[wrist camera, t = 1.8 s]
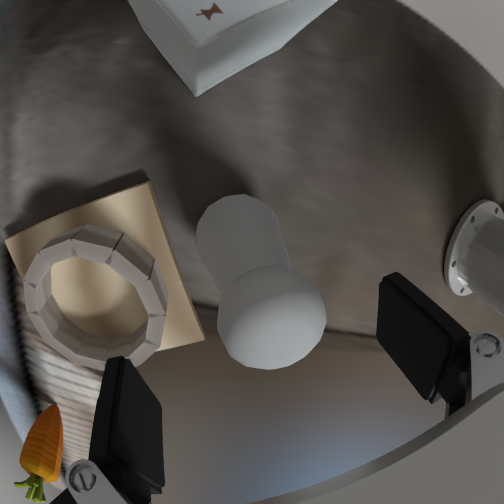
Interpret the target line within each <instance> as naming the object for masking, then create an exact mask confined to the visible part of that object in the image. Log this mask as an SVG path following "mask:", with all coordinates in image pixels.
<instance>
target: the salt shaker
mask: <svg viewBox="0 0 504 504" xmlns="http://www.w3.org/2000/svg"><path fill="white" fill-rule="evenodd" d="M195 244H196V246H197V248H198V251H199V253H200V256H201V258H202V260H203V262H204V263H205V265H206V267H207V269H208V270H209V272H210V274H211V276H212V277H213V279H214V281H215V283H216V285H217V286H218V288H219V290H220V292H221V294H222V298H221V300H220V304H219V311H218V318H217V327H218V332H219V334H220V337H221V339H222V341H223V343H224V345H225V347H226V349H227V351H228V353H229V354H230V356H231V357H232V358H234V359H235V360H237V361H239V362H240V363H242V364H243V365H245V366H247V367H254V368H261V369H276V368H281V367H286V366H289V365H291V364H293V363H295V362H297V361H298V360H300V359H302V358H304V357H305V356H306V355H307V354H308V353H309V352H310V351H311V350H312V349H313V348H314V347H315V345H316V344H317V343H318V342H319V341H320V339H321V337H322V334H323V331H324V328H325V325H326V322H327V320H326V314H325V308H324V303H323V300H322V297H321V295H320V293H319V292H318V290H317V289H316V288H315V287H314V286H313V285H312V284H311V283H310V282H309V281H308V280H307V279H306V278H305V277H304V276H303V275H302V274H301V273H300V272H297V271H294V270H292V268H291V264H290V261H289V257H288V254H287V250H286V247H285V243H284V240H283V236H282V233H281V229H280V226H279V222H278V219H277V215H276V214H275V213H274V212H273V211H272V210H271V209H270V208H269V206H268V205H267V204H266V203H265V202H264V201H261V200H259V199H256V198H254V197H251V196H248V195H246V194H239V195H232V196H225V197H223V198H221V199H220V200H218V201H216V202H214V203H213V204H211V205H209V206H208V207H207V209H206V210H205V212H204V214H203V215H202V217H201V219H200V220H199V222H198V224H197V230H196V239H195Z"/></svg>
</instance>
